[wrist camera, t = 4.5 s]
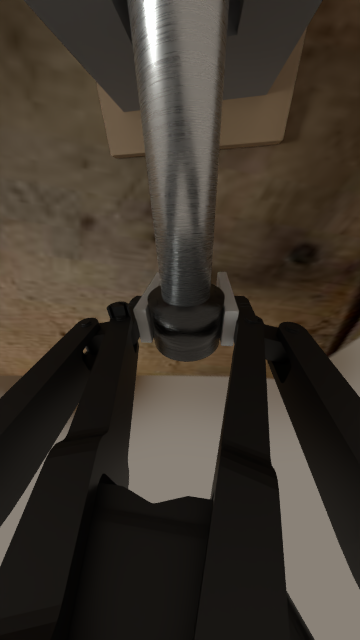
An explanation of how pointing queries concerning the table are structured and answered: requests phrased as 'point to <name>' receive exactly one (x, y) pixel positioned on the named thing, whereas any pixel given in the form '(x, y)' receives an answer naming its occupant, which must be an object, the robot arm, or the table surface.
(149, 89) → the shaft
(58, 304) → the table surface
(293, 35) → the bearing frame
